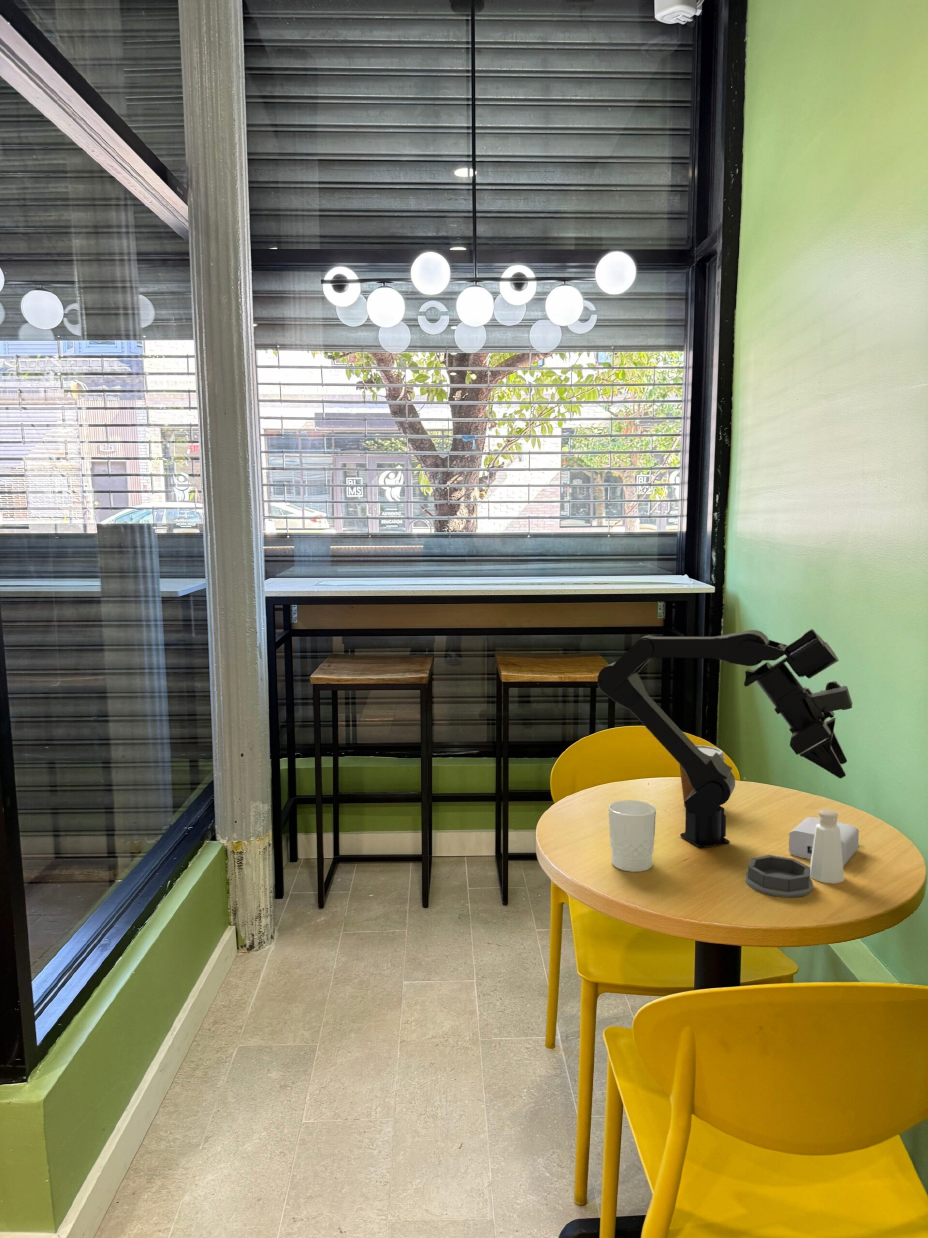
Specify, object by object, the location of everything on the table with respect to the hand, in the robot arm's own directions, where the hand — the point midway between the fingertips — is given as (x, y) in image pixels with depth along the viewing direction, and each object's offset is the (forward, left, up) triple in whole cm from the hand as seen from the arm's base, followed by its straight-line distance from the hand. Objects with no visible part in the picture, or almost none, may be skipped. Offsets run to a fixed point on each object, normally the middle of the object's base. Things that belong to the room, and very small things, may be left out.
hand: (844, 769), depth 135 cm
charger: (+3, +6, -17) cm, 18 cm away
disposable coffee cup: (-6, +32, -16) cm, 36 cm away
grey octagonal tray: (-16, -4, -16) cm, 23 cm away
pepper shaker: (-7, -4, -16) cm, 18 cm away
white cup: (-34, +11, -16) cm, 39 cm away
